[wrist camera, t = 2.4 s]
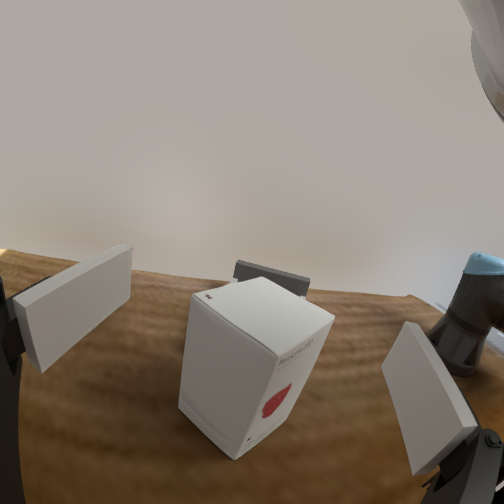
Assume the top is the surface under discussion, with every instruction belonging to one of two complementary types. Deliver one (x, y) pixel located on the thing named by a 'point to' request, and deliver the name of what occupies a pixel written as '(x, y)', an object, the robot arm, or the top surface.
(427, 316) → the top surface
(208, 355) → the supplement box
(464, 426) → the robot arm
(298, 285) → the tray
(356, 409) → the top surface
